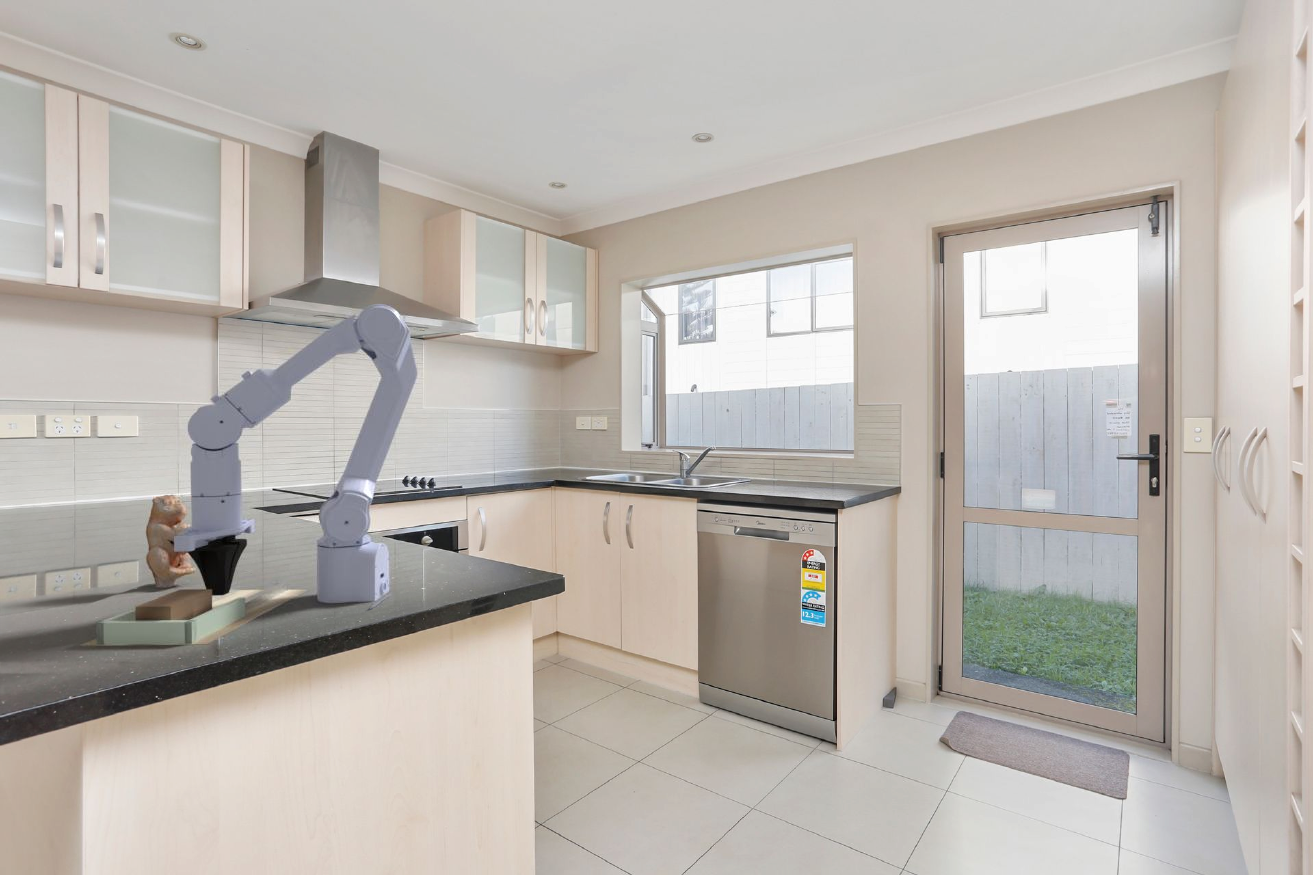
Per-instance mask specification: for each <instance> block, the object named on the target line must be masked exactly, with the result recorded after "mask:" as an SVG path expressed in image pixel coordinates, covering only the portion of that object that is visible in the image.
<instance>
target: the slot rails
mask: <svg viewBox="0 0 1313 875" xmlns="http://www.w3.org/2000/svg"><path fill="white" fill-rule="evenodd" d="M242 582H243V581H238V582H237V581H236V582H233V581H232V584H231V588H230V591H229V593H228V594H225V595H219V596H212V603H213V602H216V601H218V600H220V599H222V598H225V597H227V596H229V595H232V594H234V593H236V592H238V591H241V590H243V589H242V588H243V584H242ZM263 590H264V591H262V592H259V593H257V594H255V595H253V596H251V597H249V598H246V599H245V612H246V611H248V610H250V609H252V608H254V607H256V606H258V605H260V604H262V603H264V602H266V601H268V600H270V599H272V598H274V597H277V596H279V595H281V594H283V593H285V592H287V591H289V590H291V581H281V582H279V583H277V584H275V585H272V586H270V587H268V588H266V589H263Z"/></svg>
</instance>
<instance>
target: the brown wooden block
mask: <svg viewBox="0 0 1313 875" xmlns="http://www.w3.org/2000/svg"><path fill="white" fill-rule="evenodd" d="M177 597H193V618H195V617H197V616H199V615H201V614H204V613H206V612H208V611H210V610H212V589H206V588H204V589H202V588H201V589H199V588H196V589H193V588H191V589H187V588H186V589H185V588H184V589H183V588H182V589H178V590H175V591H172V592H170V593H168V594H164V595H162V596H159V597H158V598H177Z"/></svg>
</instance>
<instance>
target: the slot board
mask: <svg viewBox="0 0 1313 875" xmlns="http://www.w3.org/2000/svg"><path fill="white" fill-rule="evenodd" d="M264 590H265V589H242V590H241V591H238V592H236V593H234V594H232V595H229V596H227V597H225V598H222V599H220V600H218V601H216V602H213V603H212V610H213V609H215V608H217V607H219V606H221V605H224V604H226V603H228V602H230V601H232V600H235V599H237V598H243V597H245V599H246V598H249V597H251V596H253V595H255V594H257V593H259V592H262V591H264ZM308 591H309V589H290V590H289V591H287V592H285V593H283V594H281V595H279V596H277V597H274V598H272V599H270V600H268V601H266V602H264V603H262V604H260V605H258V606H256V607H254V608H252V609H250V610H248V611H246V612H245V617H243V618H241V619H239V620H237V621H235V622H233V623H231V624H229V625H227V626H225V627H223V628H221V629H219V630H217V631H216V632H214V633H212V634H210V635H208V636H206V637H204V638H202V639H200V640H198V641H196V642H194V643H192V644H109V645H97V638H95V639H92V640H89V641H86V642H85V643H83V644H80V645H79V646H80V647H82V646H83V647H87V646H89V647H91V646H94V647H95V646H97V647H98V646H99V647H100V646H102V647H103V646H104V647H105V646H166V645H167V646H175V645H177V646H178V645H179V646H180V645H182V646H183V645H184V646H185V645H186V646H187V645H191V646H192V645H209V644H210V643H212V642H213V641H215V640H217V639H219V638H221V637H222V636H225V635H226V634H229V633H231V632H232V631H234V630H236V629H238V628H240V627H241V626H243V625H245V624H247V623H250V622H252V621H253V620H254V619H257V618H259V617H260V616H262V615H264V614H267V613H269V612H270V611H272V610H274V609H275V608H277V607H279V606H281V605H283V604H285V603H287V602H289V601H290V600H293V599H295V598H297V597H298V596H300V595H302V594H304V593H305V592H306V593H307V592H308Z"/></svg>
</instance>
